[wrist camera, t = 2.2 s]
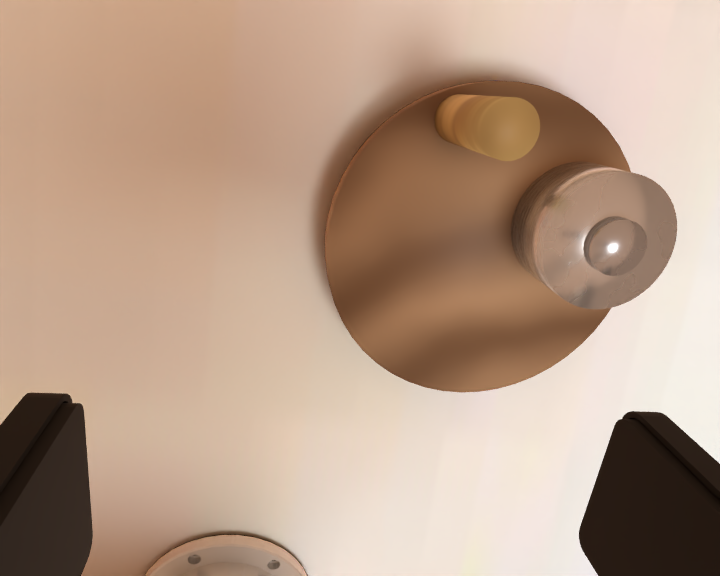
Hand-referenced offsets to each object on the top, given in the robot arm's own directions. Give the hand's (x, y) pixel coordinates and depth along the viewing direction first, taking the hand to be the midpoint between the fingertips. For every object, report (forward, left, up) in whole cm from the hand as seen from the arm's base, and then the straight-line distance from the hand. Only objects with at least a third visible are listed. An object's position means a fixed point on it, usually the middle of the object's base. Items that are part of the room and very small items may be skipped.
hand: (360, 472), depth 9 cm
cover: (-5, -14, -20) cm, 25 cm away
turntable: (-5, -9, -22) cm, 24 cm away
